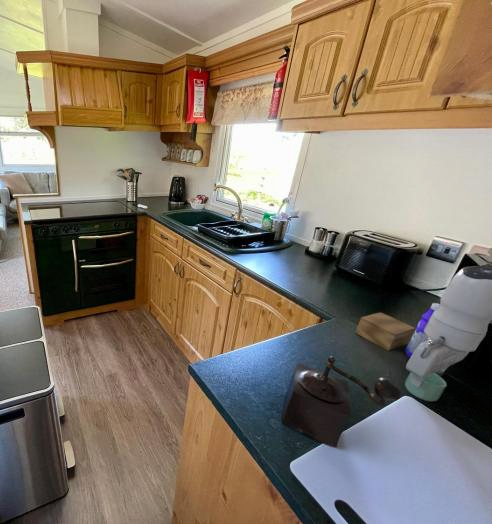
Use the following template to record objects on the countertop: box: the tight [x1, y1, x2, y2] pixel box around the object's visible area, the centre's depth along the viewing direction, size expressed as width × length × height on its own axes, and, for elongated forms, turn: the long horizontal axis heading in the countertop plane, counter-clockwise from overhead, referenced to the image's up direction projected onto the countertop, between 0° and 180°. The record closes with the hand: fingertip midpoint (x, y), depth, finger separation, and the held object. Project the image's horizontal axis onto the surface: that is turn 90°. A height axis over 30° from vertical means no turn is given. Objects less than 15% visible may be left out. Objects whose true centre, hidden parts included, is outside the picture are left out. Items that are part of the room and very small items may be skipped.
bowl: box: [404, 371, 448, 402], centre depth 72 cm, size 6×6×5 cm
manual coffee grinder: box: [280, 355, 402, 448], centre depth 59 cm, size 16×11×18 cm
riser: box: [354, 311, 416, 352], centre depth 94 cm, size 10×11×6 cm
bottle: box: [404, 302, 440, 359], centre depth 84 cm, size 7×6×17 cm
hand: (425, 379), depth 72 cm, fingers open, 8 cm apart
